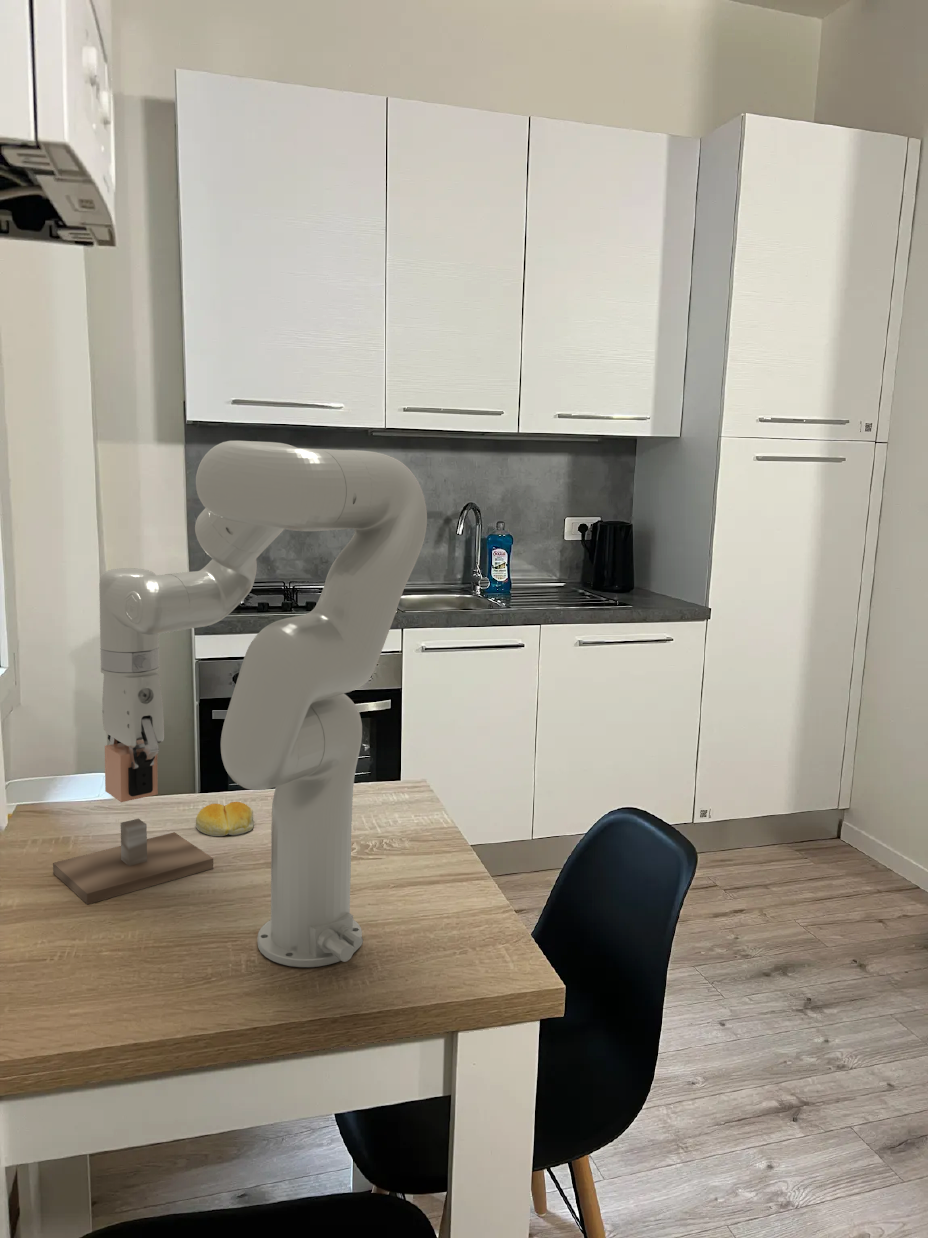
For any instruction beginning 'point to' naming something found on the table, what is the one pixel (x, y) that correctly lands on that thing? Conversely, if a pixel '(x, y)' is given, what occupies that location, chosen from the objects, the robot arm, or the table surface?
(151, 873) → the flat brown rectangular board
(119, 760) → the salmon orange block
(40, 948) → the table surface
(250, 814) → the bread roll
